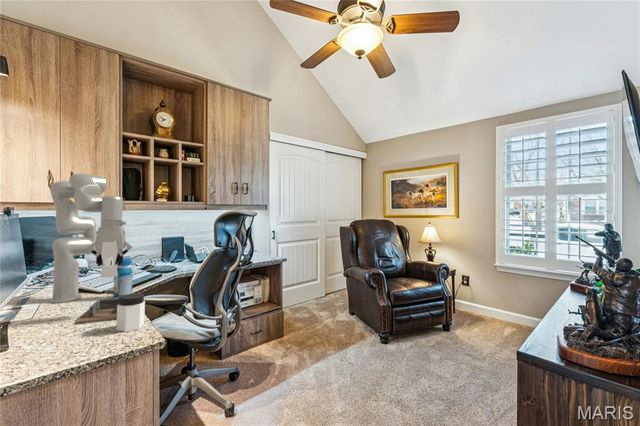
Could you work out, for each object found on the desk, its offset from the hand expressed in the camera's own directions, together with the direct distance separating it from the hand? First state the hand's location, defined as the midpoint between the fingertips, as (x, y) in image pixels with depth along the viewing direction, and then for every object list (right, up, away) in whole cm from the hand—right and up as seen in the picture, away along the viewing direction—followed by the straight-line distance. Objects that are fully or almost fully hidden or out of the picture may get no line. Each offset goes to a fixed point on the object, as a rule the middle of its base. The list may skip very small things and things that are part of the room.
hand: (109, 264), depth 123 cm
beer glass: (0, -5, 0) cm, 5 cm away
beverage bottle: (-13, -22, +27) cm, 37 cm away
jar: (+19, -22, -15) cm, 32 cm away
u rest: (0, -21, 0) cm, 21 cm away
